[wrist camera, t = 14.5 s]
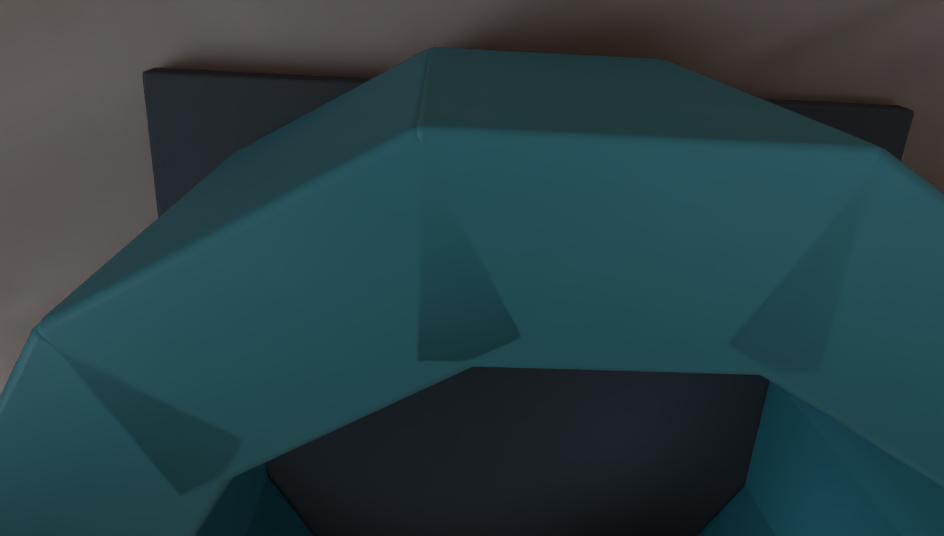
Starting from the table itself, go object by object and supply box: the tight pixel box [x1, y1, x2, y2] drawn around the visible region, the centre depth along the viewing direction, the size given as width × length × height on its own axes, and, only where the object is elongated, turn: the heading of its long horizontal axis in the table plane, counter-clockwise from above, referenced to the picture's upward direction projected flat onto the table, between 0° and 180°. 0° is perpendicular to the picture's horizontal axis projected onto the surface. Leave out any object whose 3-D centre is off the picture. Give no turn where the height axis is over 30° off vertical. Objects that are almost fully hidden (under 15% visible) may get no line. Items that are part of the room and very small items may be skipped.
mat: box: [142, 68, 914, 536], centre depth 11 cm, size 10×10×1 cm
